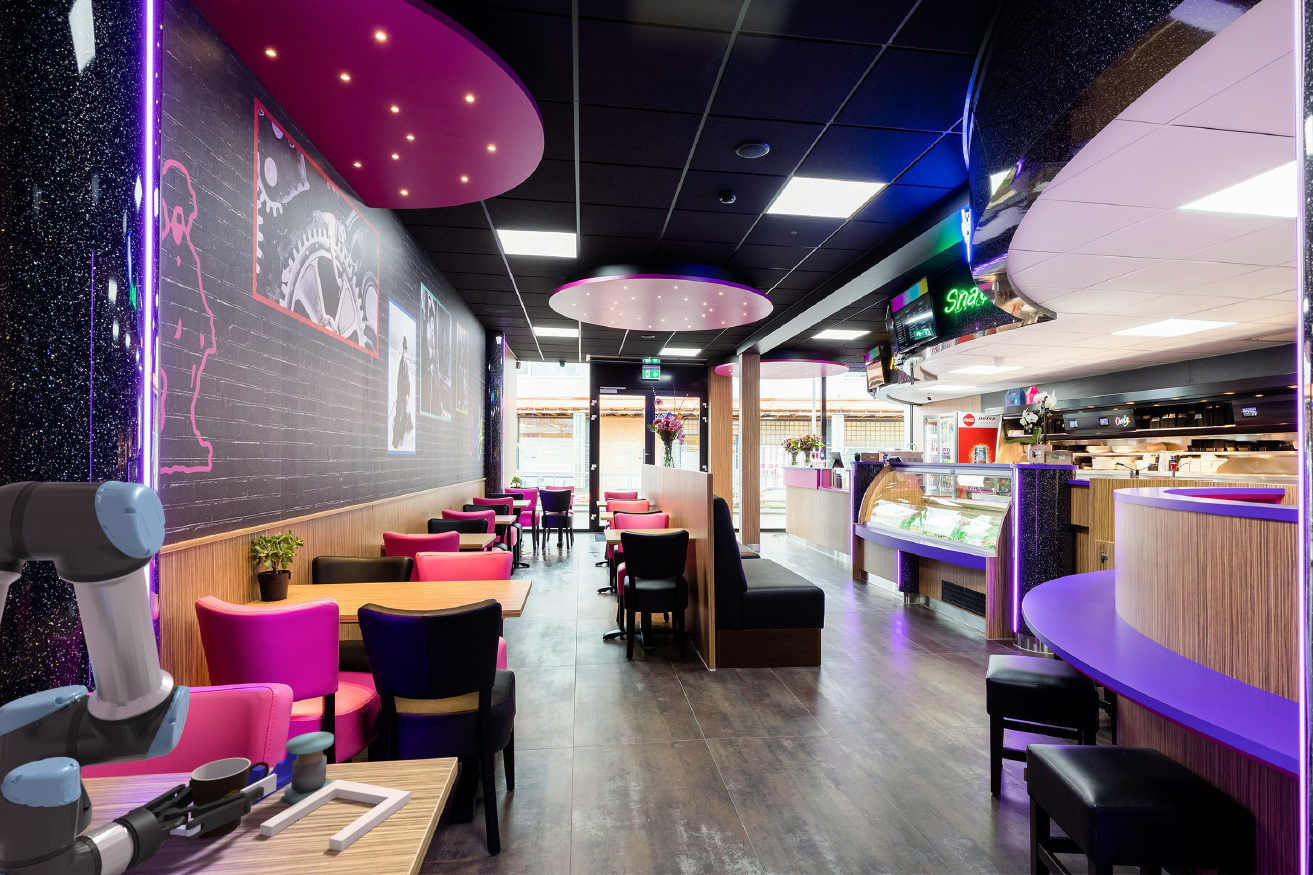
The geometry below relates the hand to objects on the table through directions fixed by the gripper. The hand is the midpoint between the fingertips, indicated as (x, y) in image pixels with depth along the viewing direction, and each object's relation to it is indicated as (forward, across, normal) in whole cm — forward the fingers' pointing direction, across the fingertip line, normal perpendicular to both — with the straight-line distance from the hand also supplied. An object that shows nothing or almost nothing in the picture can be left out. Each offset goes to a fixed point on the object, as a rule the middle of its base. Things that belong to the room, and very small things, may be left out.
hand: (254, 777), depth 114 cm
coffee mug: (-5, 0, -6) cm, 8 cm away
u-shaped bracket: (+3, +16, -6) cm, 17 cm away
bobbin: (+8, +4, -6) cm, 11 cm away
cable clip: (+9, -5, -6) cm, 12 cm away
